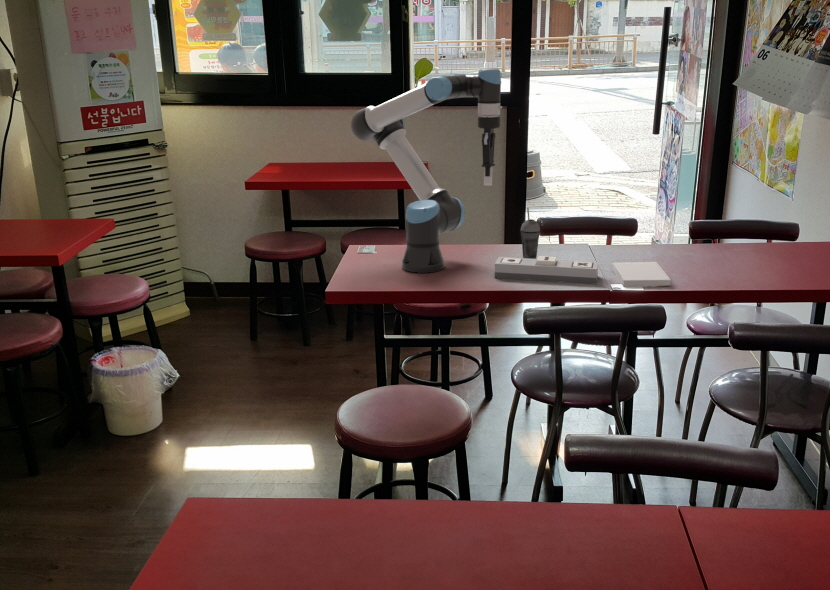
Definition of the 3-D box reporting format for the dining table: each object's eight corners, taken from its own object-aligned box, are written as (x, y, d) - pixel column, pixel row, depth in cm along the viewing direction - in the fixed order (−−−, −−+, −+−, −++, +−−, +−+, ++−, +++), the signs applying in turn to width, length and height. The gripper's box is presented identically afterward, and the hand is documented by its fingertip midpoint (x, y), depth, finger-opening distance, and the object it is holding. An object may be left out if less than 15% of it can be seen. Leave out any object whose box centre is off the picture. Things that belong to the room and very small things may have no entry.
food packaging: (669, 289, 263) (655, 271, 282) (670, 279, 262) (656, 261, 281) (623, 290, 264) (612, 271, 283) (623, 280, 263) (612, 262, 282)
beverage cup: (540, 264, 292) (542, 209, 286) (520, 264, 292) (521, 209, 286) (538, 258, 299) (540, 205, 293) (518, 259, 299) (519, 205, 293)
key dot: (501, 269, 276) (501, 262, 275) (503, 264, 282) (503, 257, 281) (518, 270, 275) (518, 263, 274) (521, 265, 280) (521, 258, 279)
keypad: (494, 277, 276) (494, 263, 274) (498, 270, 284) (498, 256, 283) (596, 283, 268) (597, 269, 266) (597, 276, 276) (598, 262, 274)
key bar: (536, 267, 273) (536, 260, 272) (538, 262, 278) (538, 255, 277) (554, 268, 271) (554, 261, 270) (556, 263, 277) (556, 256, 276)
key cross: (572, 273, 270) (572, 265, 269) (573, 268, 276) (574, 261, 275) (590, 274, 269) (591, 266, 268) (591, 269, 274) (592, 262, 273)
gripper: (496, 117, 267) (495, 188, 274) (503, 114, 279) (501, 182, 286) (474, 117, 269) (473, 188, 276) (481, 114, 281) (480, 181, 288)
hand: (488, 185), depth 281 cm, fingers closed
